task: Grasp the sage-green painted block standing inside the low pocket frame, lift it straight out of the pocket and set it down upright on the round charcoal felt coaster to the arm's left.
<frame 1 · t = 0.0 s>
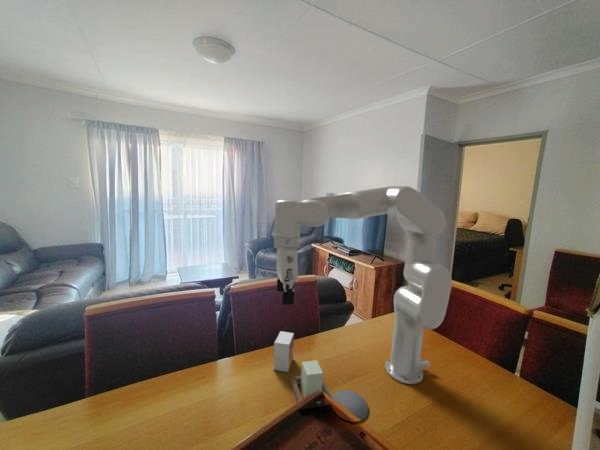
hand: (284, 297, 78), 31 cm above the table, fingers open, 9 cm apart
sage block: (311, 380, 80), in the pocket frame
small box: (283, 364, 94), on the table
pocket frame: (310, 393, 81), on the table
coaster: (349, 406, 77), on the table
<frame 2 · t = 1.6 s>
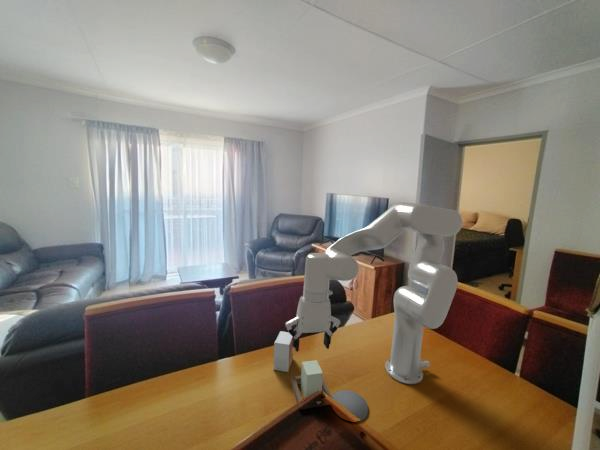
hand: (311, 347, 79), 16 cm above the table, fingers open, 9 cm apart
nothing on the table moved.
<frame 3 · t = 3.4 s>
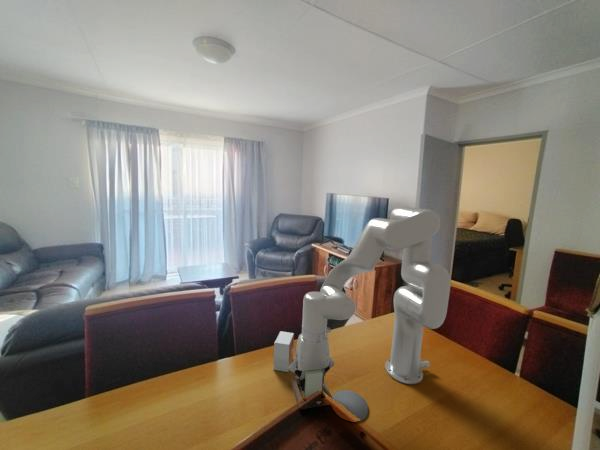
hand: (311, 386, 81), 2 cm above the table, fingers closed on sage block, 5 cm apart
sage block: (311, 380, 80), in the pocket frame, touching gripper
everything else where it was.
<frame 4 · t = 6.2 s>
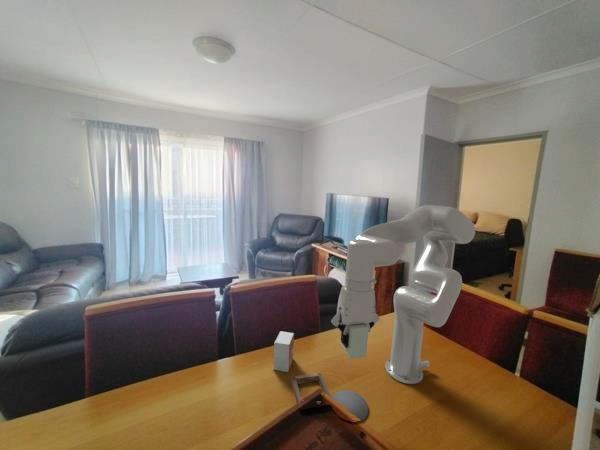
hand: (353, 343, 74), 20 cm above the table, fingers closed on sage block, 5 cm apart
sage block: (354, 336, 74), point 22 cm above the table, touching gripper
everything else where it was.
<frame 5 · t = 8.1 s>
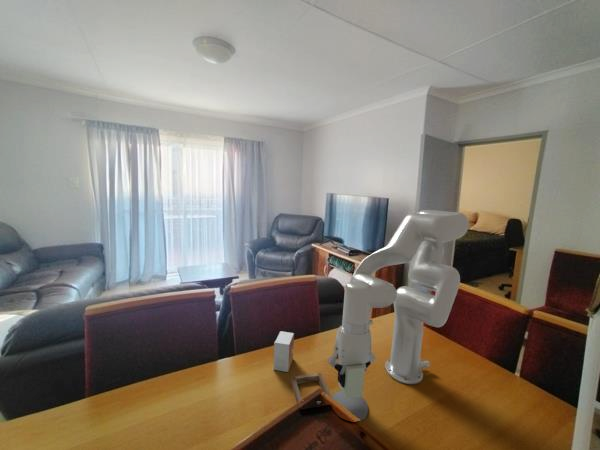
hand: (350, 382, 76), 8 cm above the table, fingers closed on sage block, 5 cm apart
sage block: (350, 375, 75), point 10 cm above the table, touching gripper
everything else where it was.
when the fingers open (4 cm above the table, at t = 9.4 s): sage block drops 1 cm, resting on coaster.
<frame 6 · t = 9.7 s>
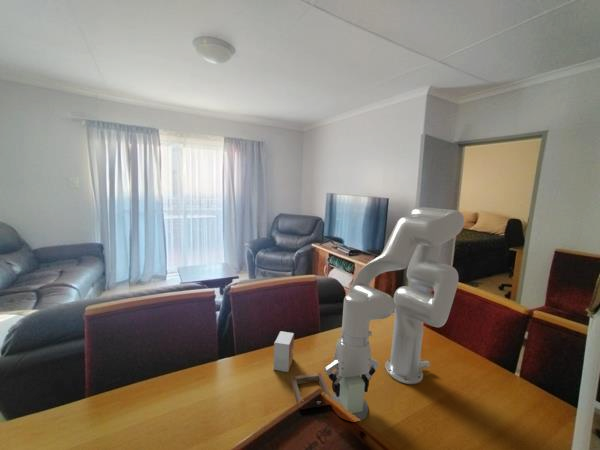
hand: (350, 390, 76), 5 cm above the table, fingers open, 8 cm apart
sage block: (351, 390, 76), on the coaster, point 5 cm above the table
everything else where it was.
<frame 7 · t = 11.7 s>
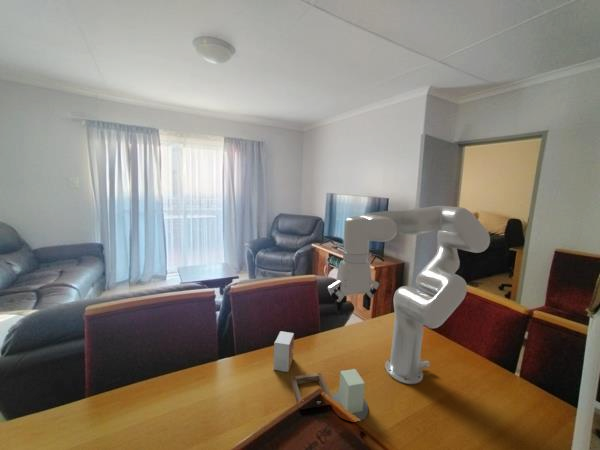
hand: (352, 310, 80), 27 cm above the table, fingers open, 9 cm apart
nothing on the table moved.
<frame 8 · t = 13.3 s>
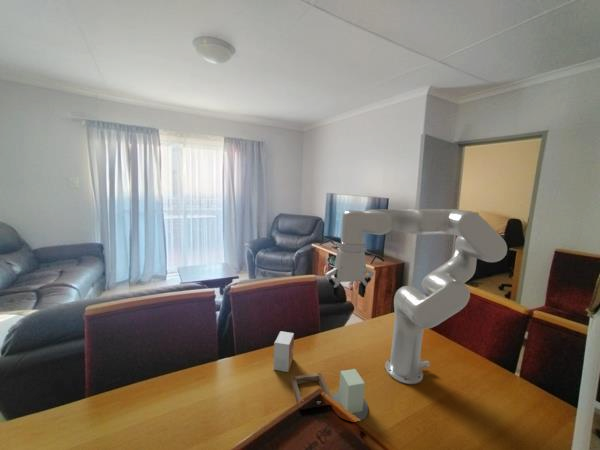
hand: (348, 296, 87), 28 cm above the table, fingers open, 9 cm apart
nothing on the table moved.
at the end: sage block inside the target area on the coaster (0.3 cm from its centre), point 5.1 cm above the coaster's base; sage block tilted 0°; the gripper is holding nothing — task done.
